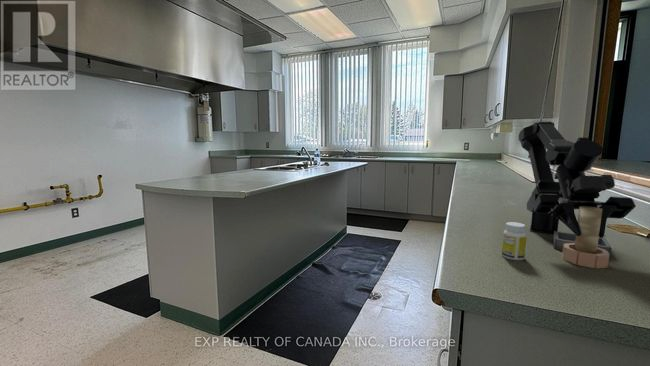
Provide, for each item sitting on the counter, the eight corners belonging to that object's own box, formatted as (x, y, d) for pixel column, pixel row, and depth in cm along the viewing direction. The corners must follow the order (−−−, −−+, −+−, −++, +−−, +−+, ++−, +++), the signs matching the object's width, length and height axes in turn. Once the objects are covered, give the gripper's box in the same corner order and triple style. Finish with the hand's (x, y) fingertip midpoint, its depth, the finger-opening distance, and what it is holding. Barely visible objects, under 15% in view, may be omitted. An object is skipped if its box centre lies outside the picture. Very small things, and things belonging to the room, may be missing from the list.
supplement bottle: (521, 254, 75) (524, 222, 74) (527, 261, 70) (530, 227, 69) (499, 252, 76) (502, 220, 75) (504, 259, 72) (506, 225, 71)
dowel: (573, 261, 70) (580, 208, 69) (572, 256, 74) (578, 205, 72) (596, 265, 68) (603, 210, 66) (593, 260, 71) (600, 207, 69)
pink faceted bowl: (563, 262, 70) (564, 250, 70) (561, 252, 76) (563, 241, 76) (609, 271, 65) (611, 258, 65) (603, 259, 72) (605, 247, 71)
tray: (554, 248, 79) (555, 239, 79) (553, 239, 86) (554, 230, 86) (610, 257, 73) (611, 247, 72) (604, 247, 80) (605, 238, 80)
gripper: (541, 161, 74) (555, 215, 65) (636, 163, 68) (665, 222, 60) (528, 188, 83) (538, 238, 74) (611, 191, 77) (633, 246, 68)
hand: (590, 236), depth 69 cm, fingers closed on dowel, 4 cm apart
